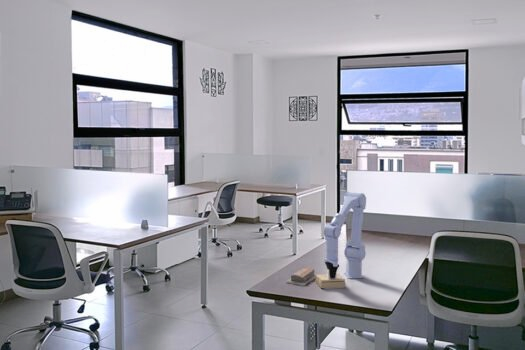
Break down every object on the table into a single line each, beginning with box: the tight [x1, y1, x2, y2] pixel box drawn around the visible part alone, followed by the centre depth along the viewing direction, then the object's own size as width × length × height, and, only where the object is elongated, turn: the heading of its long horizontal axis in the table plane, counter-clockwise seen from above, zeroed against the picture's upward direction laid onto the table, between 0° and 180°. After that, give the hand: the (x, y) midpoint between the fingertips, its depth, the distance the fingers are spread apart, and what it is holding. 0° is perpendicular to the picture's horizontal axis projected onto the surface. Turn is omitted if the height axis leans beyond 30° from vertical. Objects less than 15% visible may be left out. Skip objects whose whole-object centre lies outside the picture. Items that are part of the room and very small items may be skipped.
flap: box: [319, 268, 346, 282], centre depth 246 cm, size 6×12×5 cm, turn 96°
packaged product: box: [285, 267, 317, 287], centre depth 258 cm, size 18×5×10 cm
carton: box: [315, 273, 346, 289], centre depth 250 cm, size 12×12×4 cm
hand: (331, 277), depth 246 cm, fingers closed on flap, 3 cm apart
